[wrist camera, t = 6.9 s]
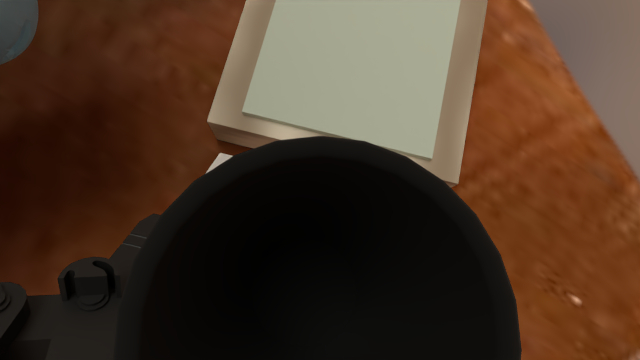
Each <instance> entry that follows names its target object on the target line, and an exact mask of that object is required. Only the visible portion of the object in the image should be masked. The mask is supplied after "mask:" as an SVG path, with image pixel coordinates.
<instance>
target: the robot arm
mask: <svg viewBox="0 0 640 360" xmlns="http://www.w3.org/2000/svg"><path fill="white" fill-rule="evenodd" d="M37 23H38V1H37V0H0V65H1V64H3V63H6V62H8V61H10V60H12V59H14V58H16V57H17V56H18V55H20V54H21V53H22V52H23V51H24V50H25V49H26V48H27V47H28V46H29V45H30V43H31V42H32V40H33V38H34V35H35V32H36V28H37ZM231 157H233V156H231V155H227V154H223V153H220V154H219V155H218V156H217V158H216V159H215V161H214V162H213V164H212V165H211V166H210V168H209V169H208V171H207V172H209V171H211V170H212V169H214V168H215V167H217V166H218V165H220V164H222V163H223V162H225V161H226V160H228V159H229V158H231ZM207 172H206V173H207ZM160 216H161V215H157V214H152V215H150V216H149V217H147V218H145V219H143V220H142V221H140V222H139V223H138V224H137V225H136V227H135V228H134V229H133V230H132V232H131V233H130V235H128V237H127V238H126V239H125V240H124V241H123V244H121V245H120V246H119V248H118V249H117V250H116V251H115V253H114V254H113V255H112V256H111V257H110V259H107V258H102V257H90V258H84V259H81V260H78V261H76V262H73V263H71V264H70V265H69V266H67V267H66V268H65V269H63V270H62V272H61V274H60V275H59V277H58V283H59V288H60V293H61V294H59V295H40V296H27V294H26V291H25V290H24V289H23V288H22V287H21V286H20V285H18V284H14V283H11V282H0V360H113V357H114V345H115V333H116V322H117V310H118V306H119V303H120V300H121V297H122V294H123V291H124V288H125V285H126V282H127V279H128V276H129V273H130V270H131V267H132V264H133V261H134V258H135V257H136V255H137V253H138V252H139V250H140V248H141V247H142V245H143V243H144V242H145V240H146V239H147V237H148V235H149V234H150V232H151V230H152V229H153V227H154V225H155V224H156V222H157V220H158V219H159V217H160Z"/></svg>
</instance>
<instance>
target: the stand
mask: <svg viewBox="0 0 640 360" xmlns="http://www.w3.org/2000/svg"><path fill="white" fill-rule="evenodd" d="M487 1H488V0H246V3H245V6H244V9H243V12H242V15H241V18H240V21H239V24H238V28H237V31H236V34H235V37H234V40H233V43H232V46H231V49H230V52H229V55H228V58H227V61H226V64H225V67H224V70H223V73H222V76H221V80H220V83H219V86H218V89H217V92H216V95H215V98H214V101H213V104H212V107H211V110H210V113H209V116H208V119H207V123H208V124H209V126H210V128H211V129H212V131H213V133H214V135H215V136H216V138H217V140H221V141H225V142H229V143H233V144H237V145H241V146H245V147H249V148H253V149H254V148H257V147H260V146H263V145H265V144H268V143H271V142H274V141H277V140H286V139H295V138H304V137H313V136H328V137H336V138H344V139H352V140H360V141H366V142H369V143H372V144H374V145H377V146H380V147H382V148H385V149H388V150H390V151H393V152H396V153H399V154H401V155H404V156H407V157H408V158H410V159H411V160H413V161H414V162H416V163H417V164H419V165H420V166H422V167H423V168H425V169H426V170H428V171H430V172H431V173H433V174H434V175H436V176H437V177H439V178H440V179H442V180H443V181H444V182H445V183H446V184H447V185H448V186H449V187H450V188H451V187H453V186H455V185H457V184H458V181H459V175H460V169H461V162H462V156H463V150H464V144H465V138H466V131H467V125H468V119H469V113H470V107H471V101H472V94H473V88H474V82H475V76H476V70H477V63H478V57H479V51H480V45H481V39H482V32H483V26H484V20H485V14H486V8H487Z"/></svg>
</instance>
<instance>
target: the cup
mask: <svg viewBox="0 0 640 360" xmlns="http://www.w3.org/2000/svg"><path fill="white" fill-rule="evenodd" d="M521 351H522V350H521V341H520V332H519V323H518V314H517V305H516V299H515V296H514V293H513V290H512V287H511V284H510V281H509V278H508V275H507V272H506V270H505V267H504V264H503V261H502V258H501V255H500V253H499V251H498V250H497V248H496V246H495V245H494V243H493V241H492V240H491V238H490V237H489V235H488V233H487V232H486V230H485V228H484V227H483V225H482V223H481V222H480V220H479V218H478V217H477V215H476V214H475V213H474V212H473V211H472V210H471V209H470V207H469V206H468V205H467V204H466V203H465V202H464V201H463V200H462V199H461V198H460V197H459V196H458V195H457V194H456V193H455V192H454V191H453V190H452V189H451V188H450V187H449V186H448V185H447V184H446V183H445V182H444V181H443V180H442V179H440V178H439V177H437V176H436V175H434V174H433V173H431V172H430V171H428V170H426V169H425V168H423V167H422V166H420V165H419V164H417V163H416V162H414V161H413V160H411V159H410V158H408V157H407V156H404V155H401V154H399V153H396V152H393V151H390V150H388V149H385V148H382V147H380V146H377V145H374V144H372V143H369V142H366V141H360V140H352V139H344V138H336V137H328V136H313V137H304V138H295V139H286V140H277V141H274V142H271V143H268V144H265V145H263V146H260V147H257V148H254V149H251V150H248V151H246V152H243V153H240V154H237V155H234V156H233V157H231V158H229V159H228V160H226V161H225V162H223V163H222V164H220V165H218V166H217V167H215V168H214V169H212V170H211V171H209V172H207V173H206V174H204V175H203V176H201V177H200V178H198V179H197V180H195V181H194V182H193V183H192V184H191V185H190V186H189V187H188V188H187V189H186V190H185V191H184V192H183V193H182V194H181V195H180V196H179V197H178V198H177V199H176V200H175V201H174V202H173V203H172V204H171V205H170V206H169V207H168V208H167V209H166V210H165V212H164V213H163V214H162V215H161V216H160V217H159V219H158V220H157V222H156V224H155V225H154V227H153V229H152V230H151V232H150V234H149V235H148V237H147V239H146V240H145V242H144V243H143V245H142V247H141V248H140V250H139V252H138V253H137V255H136V257H135V258H134V261H133V264H132V267H131V270H130V273H129V276H128V279H127V282H126V285H125V288H124V291H123V294H122V297H121V300H120V303H119V306H118V310H117V322H116V333H115V345H114V357H113V360H521Z"/></svg>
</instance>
